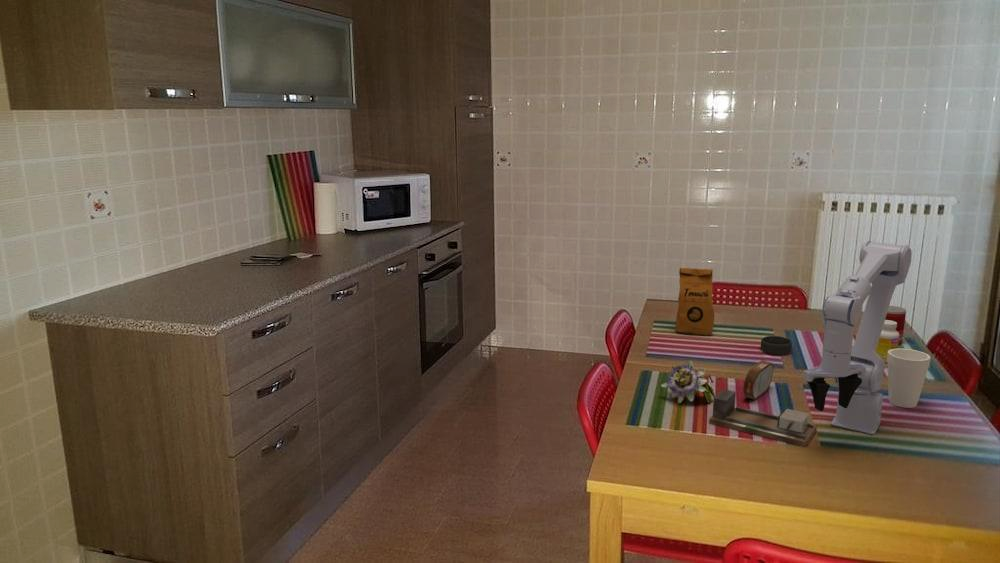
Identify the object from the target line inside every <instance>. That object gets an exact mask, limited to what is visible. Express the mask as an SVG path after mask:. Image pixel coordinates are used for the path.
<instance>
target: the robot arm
mask: <svg viewBox="0 0 1000 563" xmlns="http://www.w3.org/2000/svg"><path fill="white" fill-rule="evenodd" d="M858 258H859V262H860V263H859V264H860V265H859V267H858V269H857V271H856V273H855V274H854V275H849V276H848V277H847V278H846V279H845V280H844V281H843V283H842V284H841V285H840V287H839V288H838V289H837V291H836V292H835V294H832V295H830V296H826V297H825V298H824V301H823V303H822V308H821V318H822V328H823V329H824V334H823V344H822V352H821V353H822V354H821V363H819V366H816V367H812V368H809V369H805V370H803V374H802V379H803V380H804V381H806V383H807V384H808V386H809V388H810V393H811V395H812V399H813V405H814V409H815V410H818V411H819V412H823V411H824V409H825V406H826V399H827V394H828V392H829V390H830V387H831V384H829V383H827V382H826V380H825V379H833V382H834V383H836V388H838V394H837V401H836V402H837V404H836V412H835V413H836V414H835V416H834V417H833V419H832V421H831V422H830V425H831V426H833V427H834V426H835V427H838V428H843V429H848V430H853V431H856V432H861V433H865V434H871V435H876V432H877V431H878V428H879V427H880V425H881V420H882V408H883V398H884V396H883V393H881V392H877V391H879V390H880V388H881V387H882V384H883V380H884V373H885V368H886V367H885V364H884V361H883V359H882V358H881V357H880V356H879V355H878V354H877V353H876V348H877V345H878V341H879V338H880V335H881V331H882V328H883V325H884V321H885V318H886V315H887V311H888V308H889V306H891V301H892V297H893V296H894V293H895V290H896V287H897V286H899V285H901V284H904V283H905V282H906V279H907V277H908V273H909V270H910V267H911V262H912V249H911V247H910V246H909V245H907V244H904V245H901V244H893V243H886V242H885V243H884V242H876V241H872V240H867V241H865V242H864V243H863V244H862V246H861V247H860V251H859V257H858ZM865 301H866V304H865V306H864V310H863V304H864V303H865ZM862 310H863V313H862ZM861 313H862V316H861V319H860V315H861ZM859 319H860V320H861V321H860V322H859V327H858V330H857V333H856V336H855V340H854V343H853V339H854V332H855V325H857V323H858V321H859Z"/></svg>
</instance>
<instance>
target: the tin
mask: <svg viewBox="0 0 1000 563" xmlns="http://www.w3.org/2000/svg"><path fill="white" fill-rule="evenodd" d="M773 372H774V364H773V362H770V361H767V360H764V359H761V360H760V361H758V362H757V363H756V364H754V365H753V366H751V367H750V369H748V371H747V373H746V376H745V379H744V383H743V387H742V394H743V397H744V398H747V399H751V400H757V399H758V398H759V397H760V396H762V395H763V394H764V393H766V392H767V391H768V389H769V388H770V386H771V383H772V378H773Z"/></svg>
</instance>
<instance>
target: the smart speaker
mask: <svg viewBox="0 0 1000 563" xmlns="http://www.w3.org/2000/svg"><path fill="white" fill-rule="evenodd" d="M792 345H793V344H792V341H791V339H788V338H787V337H783V336H777V335H766V336H764V337H762V338H761V340H760V350H761V352H763V353H765V354H767V353H768V355H771V354H772V355H771V356H786V355H789V354H790V353H791V352H792Z"/></svg>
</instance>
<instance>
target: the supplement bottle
mask: <svg viewBox="0 0 1000 563" xmlns="http://www.w3.org/2000/svg"><path fill="white" fill-rule="evenodd" d="M896 327H897V322H895V321H891V320H885V321H884V325H883V328H882V331H881V335H880V338H879V341H878V345H877V348H876V353H877V354H878V355H879V356H880V357H881V358H882V359H883V361H884V364H885V368H888V362H887V353H888V351H889V350H890V349H897V348H898V347H899V345H898V342H899V333H898V332H897V331H896V330H895V328H896Z"/></svg>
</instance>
